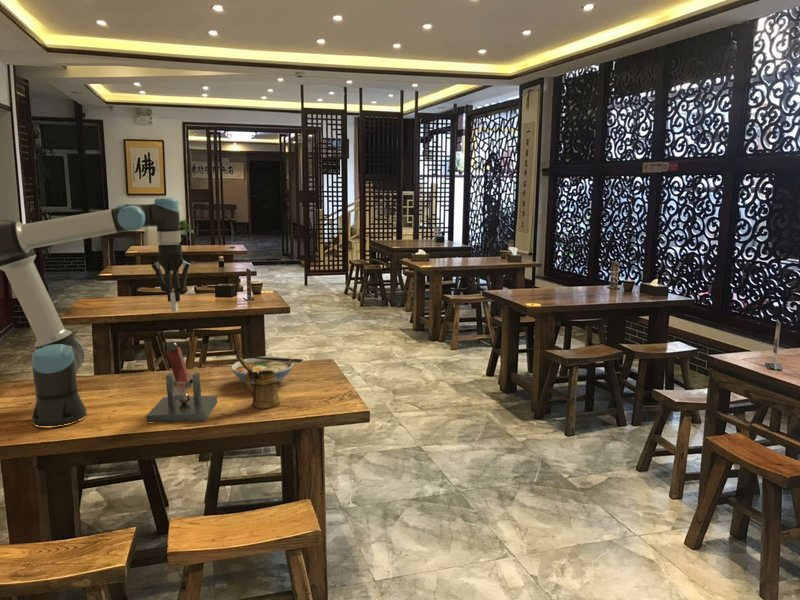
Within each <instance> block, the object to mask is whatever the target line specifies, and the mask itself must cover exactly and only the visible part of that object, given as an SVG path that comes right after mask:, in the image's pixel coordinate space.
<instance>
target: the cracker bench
mask: <svg viewBox="0 0 800 600" xmlns="http://www.w3.org/2000/svg"><path fill="white" fill-rule="evenodd" d="M191 376H192V380H193V383H192V392H193V396H191V395H189V394H188V393H187V392H186V395H185V399H184V400H175V397H174V393H175V390H176V388H175V385H174V383H173V381H174V379H175V377H174V374H173V372H169V373H167V374H166V376H165V382H166V383H165V385H166V392H167V393H166V395H167V396H163V397H162V398H161V399H160V400H159V402H157V404H155V405H154V407H152V409H151V410H150V411H149V412H148V414H146V422H169V423H191V422H193V421H199V422H206V421H207V420H208V419H209V416H210V415H211V413H212V412H211V411H213V410H214V409H215V407H216V406H217V404H218V396H217V395H202V394H201V393H202V391H201V388H202V387H201V378H200V372H196V371H195V372H194V373H192V374H191ZM213 408H214V409H213ZM175 421H177V422H175ZM180 421H181V422H180ZM189 421H191V422H189ZM193 423H194V422H193Z"/></svg>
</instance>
